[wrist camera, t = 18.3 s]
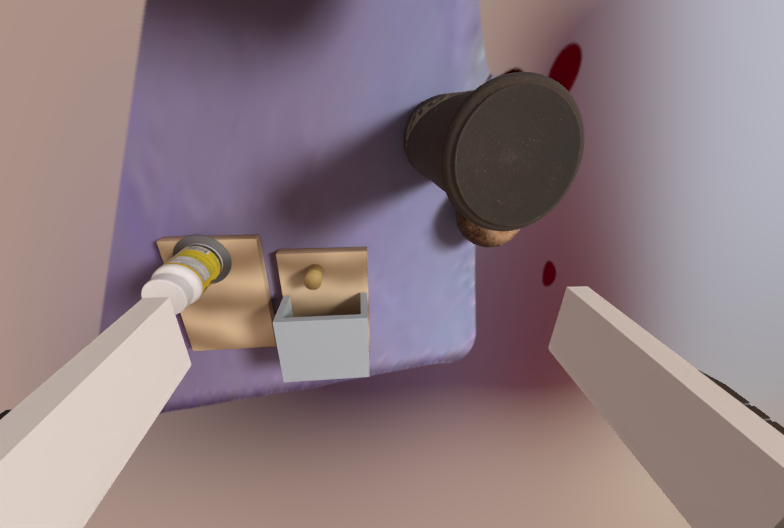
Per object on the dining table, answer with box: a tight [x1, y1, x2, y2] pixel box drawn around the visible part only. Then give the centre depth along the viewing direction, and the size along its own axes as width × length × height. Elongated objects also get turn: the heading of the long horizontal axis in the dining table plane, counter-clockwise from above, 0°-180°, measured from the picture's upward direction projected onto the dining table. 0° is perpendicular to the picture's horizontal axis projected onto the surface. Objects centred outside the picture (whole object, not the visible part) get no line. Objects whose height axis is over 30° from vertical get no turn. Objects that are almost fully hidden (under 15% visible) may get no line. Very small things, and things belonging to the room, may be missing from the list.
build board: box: [156, 235, 277, 351], centre depth 40 cm, size 17×11×2 cm, turn 179°
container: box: [404, 72, 584, 231], centre depth 27 cm, size 9×9×20 cm
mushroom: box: [456, 211, 520, 247], centre depth 38 cm, size 8×8×6 cm
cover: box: [273, 293, 370, 382], centre depth 40 cm, size 9×11×6 cm
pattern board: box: [276, 247, 370, 352], centre depth 41 cm, size 16×11×4 cm
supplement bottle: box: [141, 244, 223, 314], centre depth 34 cm, size 5×5×8 cm
